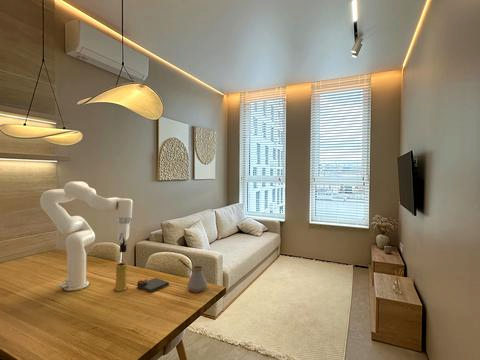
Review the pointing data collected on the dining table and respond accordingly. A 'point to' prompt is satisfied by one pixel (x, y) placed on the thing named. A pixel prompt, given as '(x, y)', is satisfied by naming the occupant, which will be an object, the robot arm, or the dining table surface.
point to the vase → (121, 277)
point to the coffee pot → (196, 278)
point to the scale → (152, 285)
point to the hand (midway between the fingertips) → (122, 251)
